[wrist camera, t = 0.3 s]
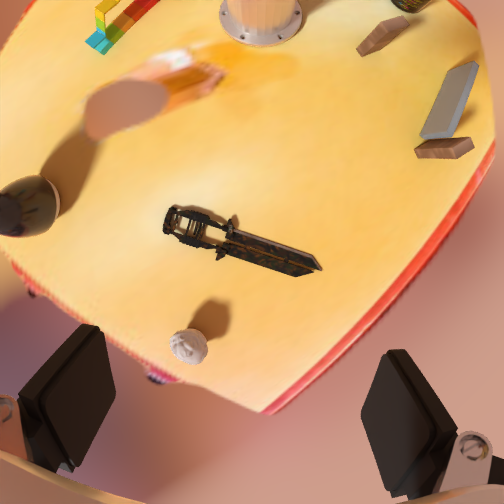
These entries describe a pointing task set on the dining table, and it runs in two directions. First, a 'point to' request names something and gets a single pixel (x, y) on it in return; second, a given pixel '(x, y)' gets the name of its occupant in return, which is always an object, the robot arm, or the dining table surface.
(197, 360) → the white rounded lump
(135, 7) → the chart
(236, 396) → the dining table surface
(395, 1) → the supplement container
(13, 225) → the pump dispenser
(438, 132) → the door
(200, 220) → the knife
